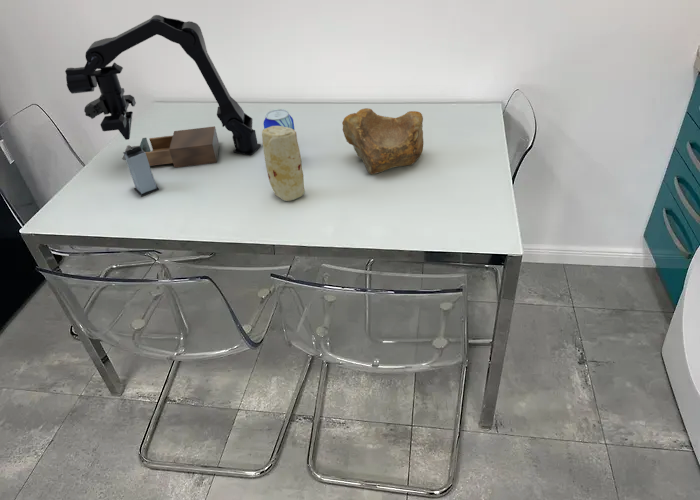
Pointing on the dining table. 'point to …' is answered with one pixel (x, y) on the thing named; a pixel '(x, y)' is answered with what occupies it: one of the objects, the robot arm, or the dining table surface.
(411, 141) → the rough brown rock
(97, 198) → the dining table surface
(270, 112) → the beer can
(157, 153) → the drawer
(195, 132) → the cabinet
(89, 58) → the robot arm
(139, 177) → the grey box with handle
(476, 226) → the dining table surface
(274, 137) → the food model
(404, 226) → the dining table surface
